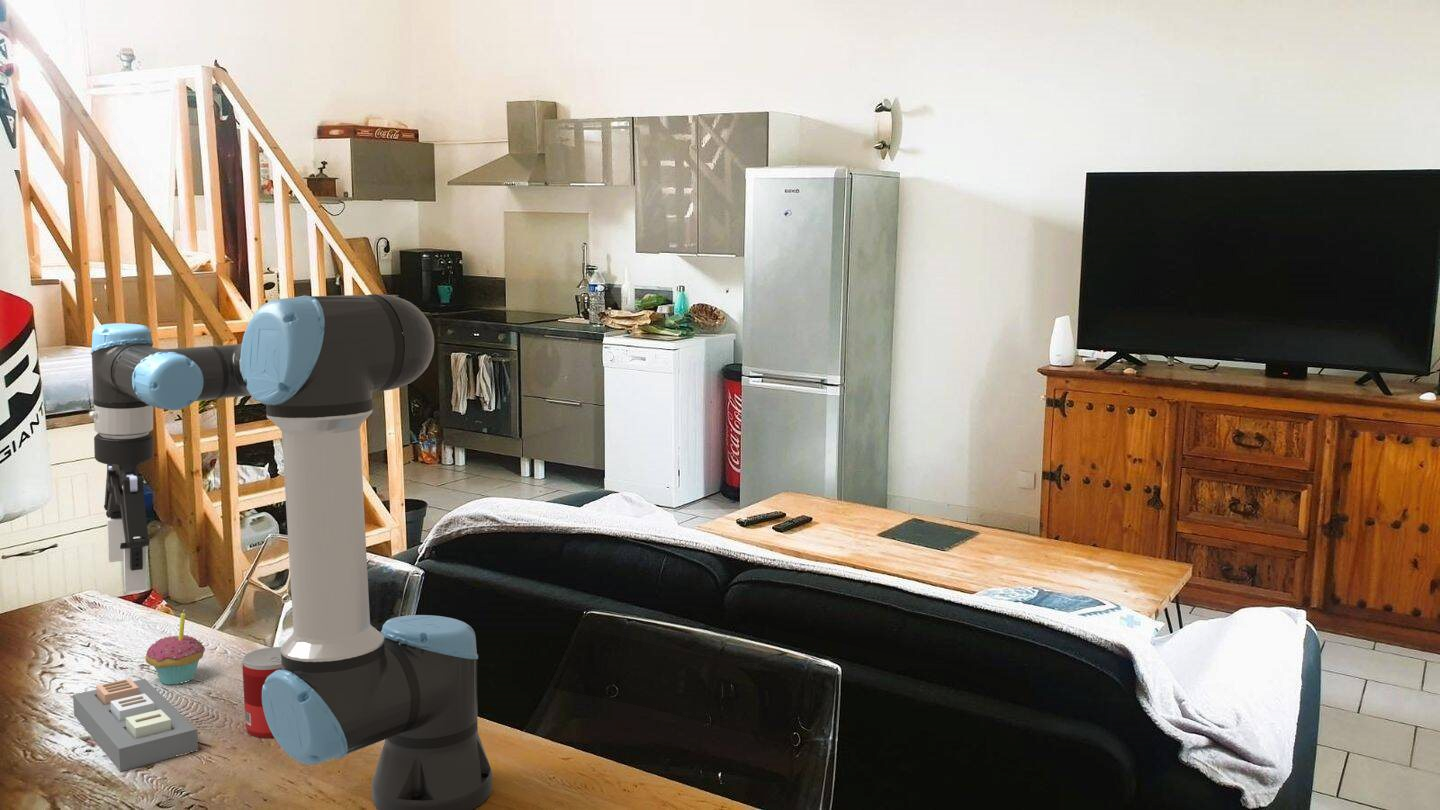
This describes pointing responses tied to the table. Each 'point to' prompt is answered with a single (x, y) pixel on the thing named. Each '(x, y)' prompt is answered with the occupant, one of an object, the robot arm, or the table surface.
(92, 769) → the table surface
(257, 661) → the canned food
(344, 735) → the robot arm
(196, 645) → the cupcake
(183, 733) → the keypad
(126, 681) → the tile
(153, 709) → the tile
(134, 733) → the tile
